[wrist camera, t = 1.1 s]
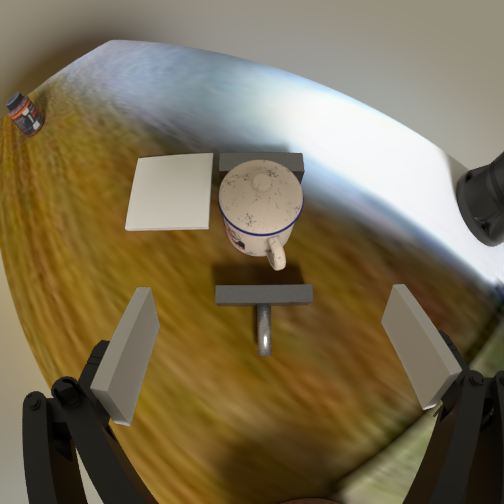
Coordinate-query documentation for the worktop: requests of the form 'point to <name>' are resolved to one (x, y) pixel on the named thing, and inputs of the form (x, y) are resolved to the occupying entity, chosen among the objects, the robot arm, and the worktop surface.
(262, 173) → the teacup with lid
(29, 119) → the supplement bottle
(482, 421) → the robot arm
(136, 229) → the tile
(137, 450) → the worktop surface
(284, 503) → the planter
